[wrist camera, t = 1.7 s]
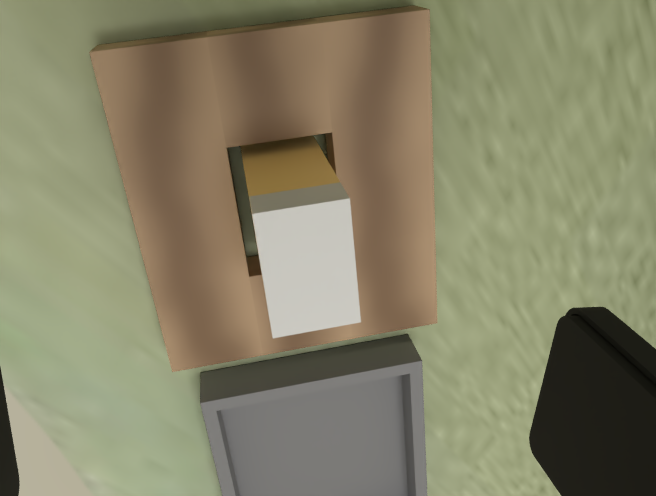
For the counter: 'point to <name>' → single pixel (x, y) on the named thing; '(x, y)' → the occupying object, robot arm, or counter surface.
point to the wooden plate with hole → (264, 126)
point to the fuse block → (302, 236)
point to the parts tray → (320, 423)
